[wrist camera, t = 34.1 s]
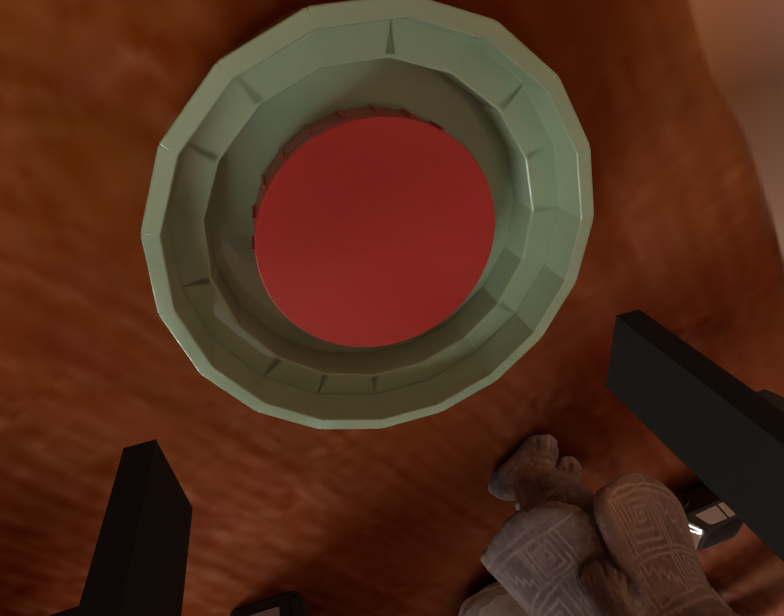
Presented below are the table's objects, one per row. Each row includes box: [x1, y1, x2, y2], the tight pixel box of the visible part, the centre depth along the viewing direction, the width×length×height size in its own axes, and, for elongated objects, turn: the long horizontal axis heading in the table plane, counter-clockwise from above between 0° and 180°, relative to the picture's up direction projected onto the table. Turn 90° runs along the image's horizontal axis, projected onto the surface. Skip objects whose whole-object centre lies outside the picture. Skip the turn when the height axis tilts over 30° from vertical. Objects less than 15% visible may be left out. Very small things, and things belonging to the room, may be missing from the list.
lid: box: [252, 104, 495, 347], centre depth 17 cm, size 8×8×2 cm
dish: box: [140, 0, 594, 429], centre depth 17 cm, size 14×14×4 cm
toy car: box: [669, 485, 743, 551], centre depth 31 cm, size 4×12×8 cm, turn 97°
